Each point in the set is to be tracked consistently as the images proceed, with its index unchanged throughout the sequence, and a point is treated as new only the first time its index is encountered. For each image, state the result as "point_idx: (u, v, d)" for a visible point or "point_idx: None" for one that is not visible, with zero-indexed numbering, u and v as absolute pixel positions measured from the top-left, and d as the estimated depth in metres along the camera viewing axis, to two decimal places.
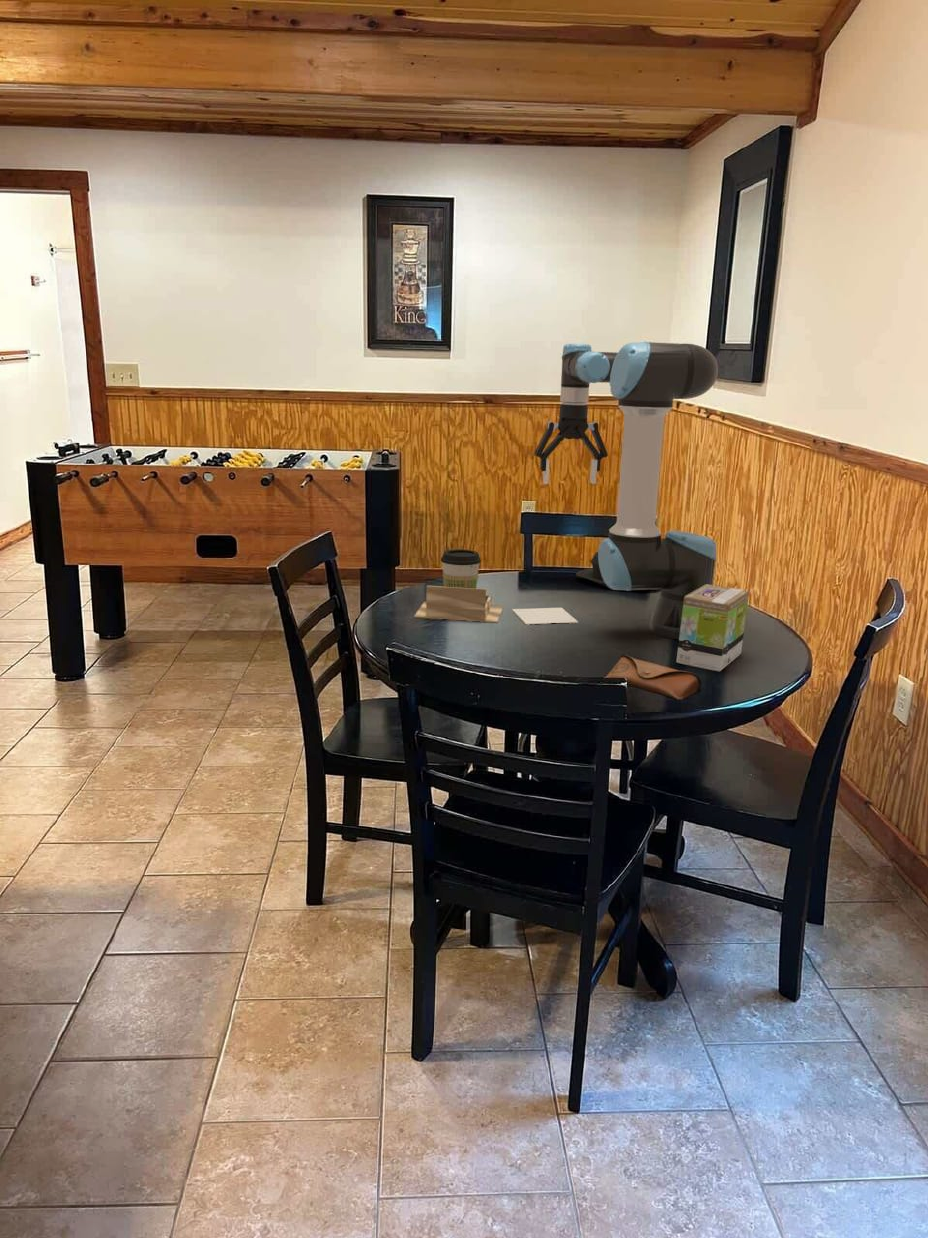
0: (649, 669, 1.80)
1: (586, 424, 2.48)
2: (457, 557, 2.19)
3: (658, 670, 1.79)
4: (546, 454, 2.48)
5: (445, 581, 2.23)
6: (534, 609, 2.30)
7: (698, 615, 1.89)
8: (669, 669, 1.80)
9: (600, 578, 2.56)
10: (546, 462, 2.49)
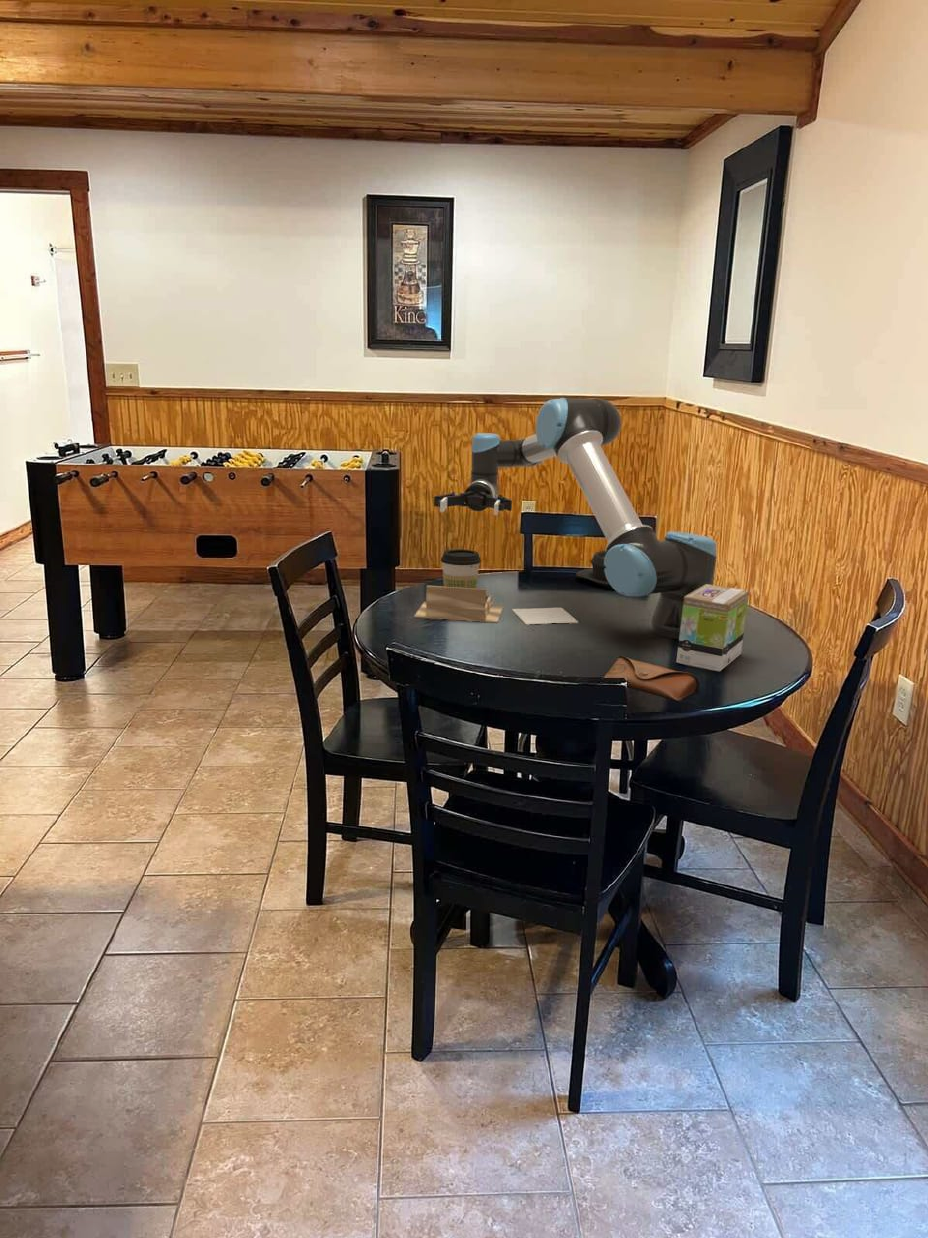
0: (647, 670, 1.80)
1: None
2: (457, 557, 2.19)
3: (656, 671, 1.79)
4: (444, 497, 2.38)
5: (445, 581, 2.23)
6: (534, 609, 2.30)
7: (698, 615, 1.89)
8: (667, 669, 1.79)
9: (600, 578, 2.56)
10: (443, 499, 2.36)
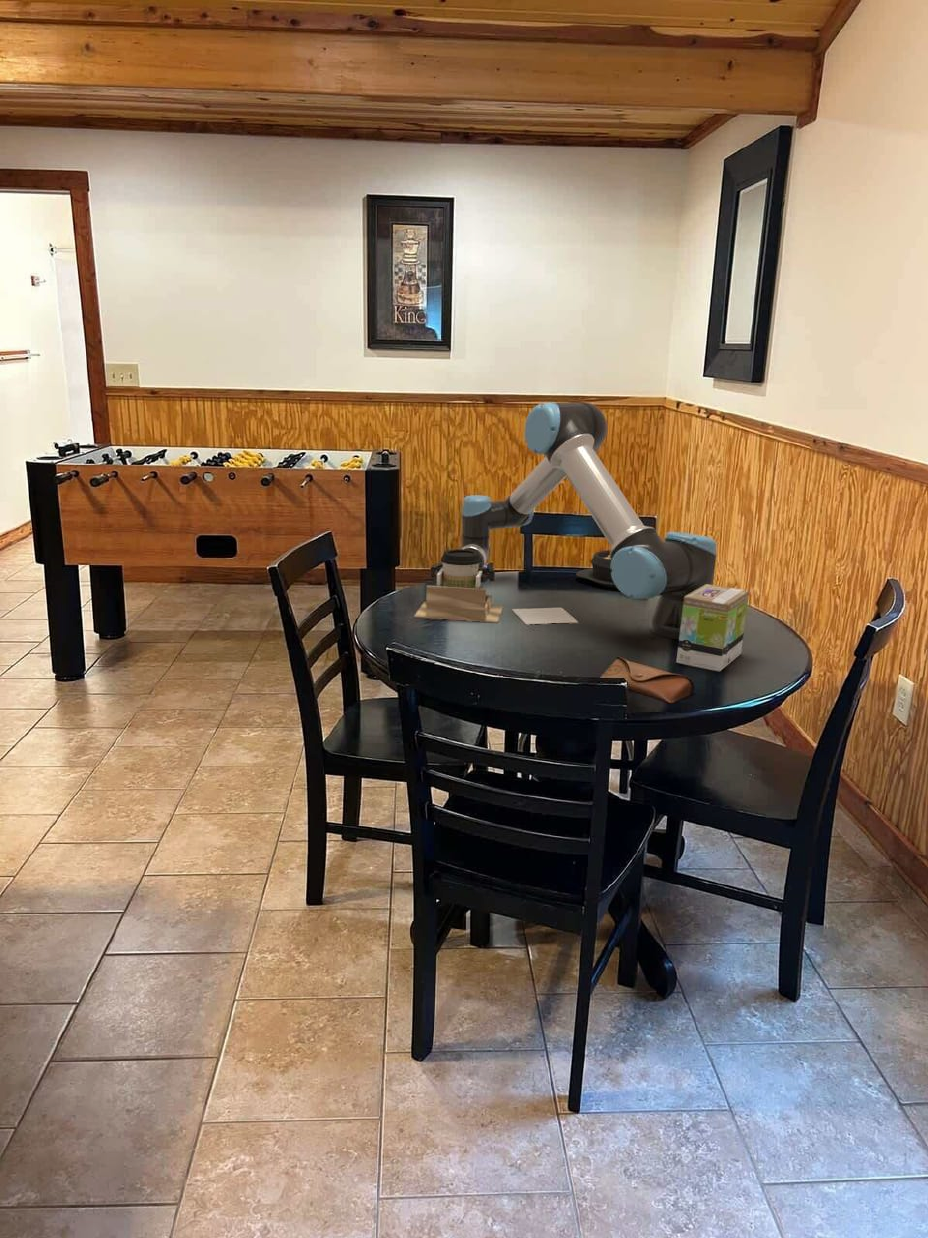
0: (642, 672, 1.79)
1: (481, 562, 2.36)
2: (457, 557, 2.19)
3: (651, 673, 1.78)
4: (440, 567, 2.28)
5: (445, 581, 2.23)
6: (534, 609, 2.30)
7: (698, 615, 1.89)
8: (662, 671, 1.78)
9: (600, 578, 2.56)
10: None
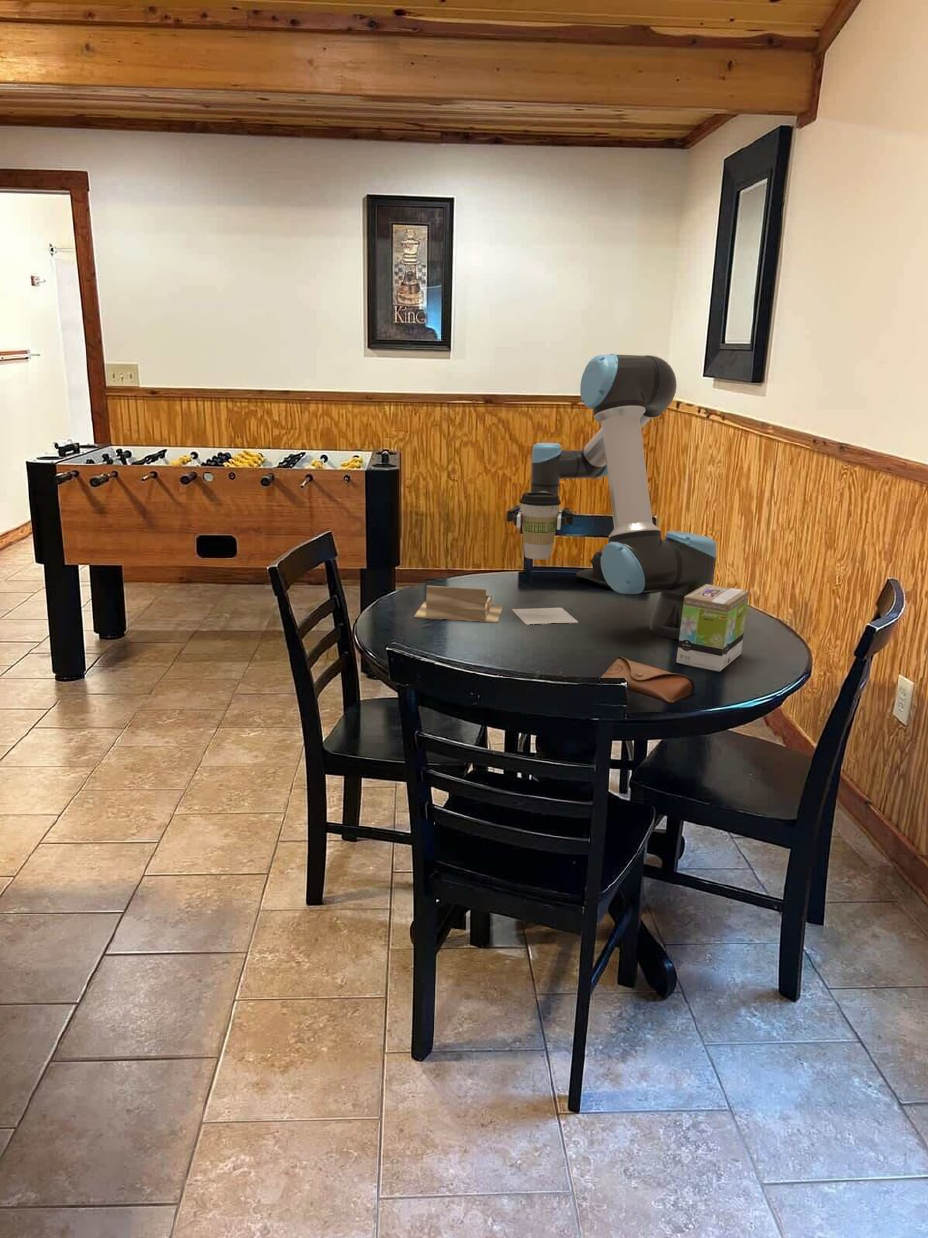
0: (642, 671, 1.79)
1: None
2: (538, 498, 2.14)
3: (651, 673, 1.78)
4: (517, 511, 2.23)
5: (524, 523, 2.18)
6: (534, 609, 2.30)
7: (698, 615, 1.89)
8: (663, 671, 1.78)
9: (600, 578, 2.56)
10: (518, 514, 2.21)
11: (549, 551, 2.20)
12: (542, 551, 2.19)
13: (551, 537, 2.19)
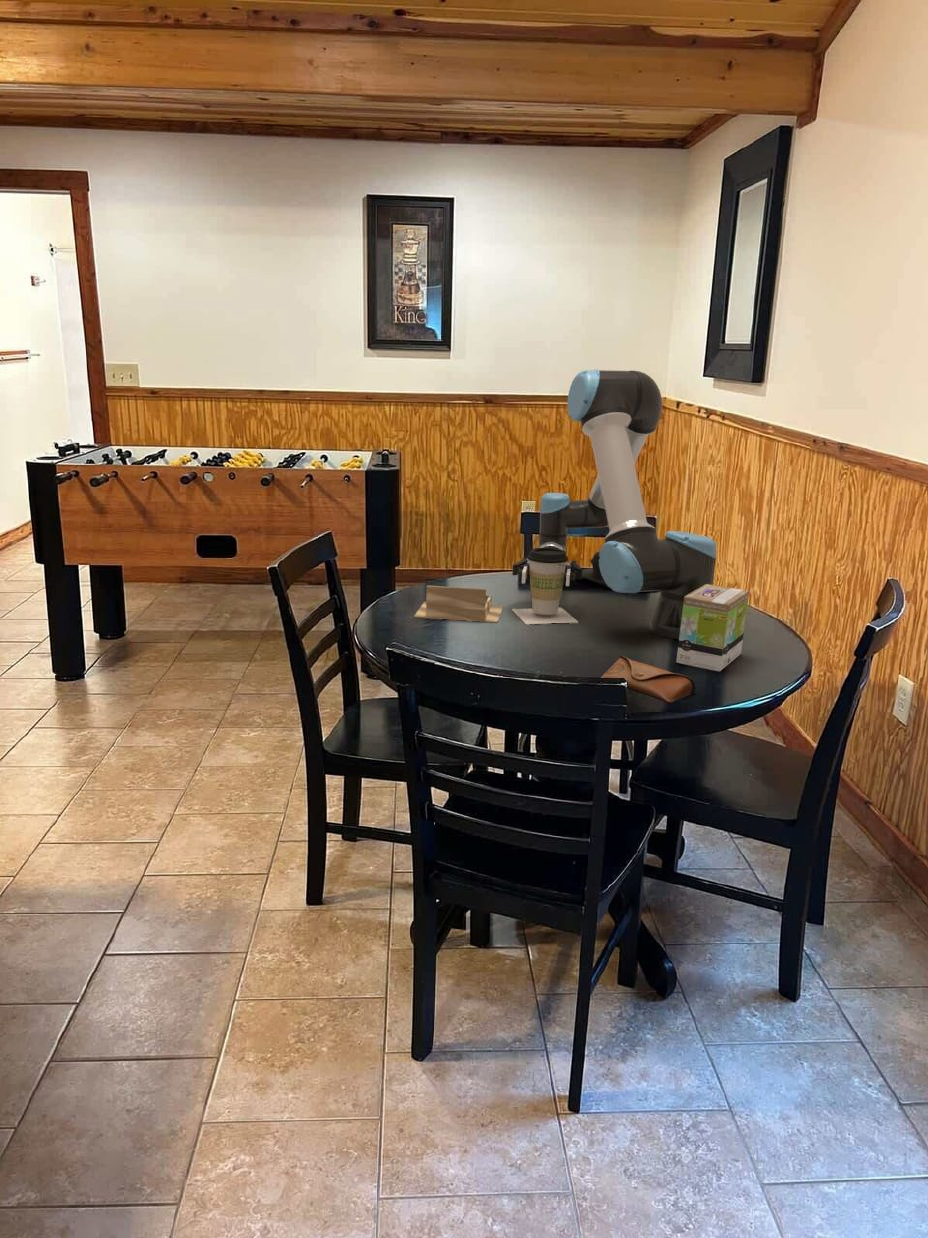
0: (643, 671, 1.79)
1: None
2: (546, 555, 2.18)
3: (652, 672, 1.78)
4: (523, 565, 2.27)
5: (532, 579, 2.22)
6: None
7: (698, 615, 1.89)
8: (663, 671, 1.78)
9: (600, 578, 2.56)
10: (523, 568, 2.25)
11: (556, 606, 2.24)
12: (549, 607, 2.22)
13: (558, 593, 2.22)
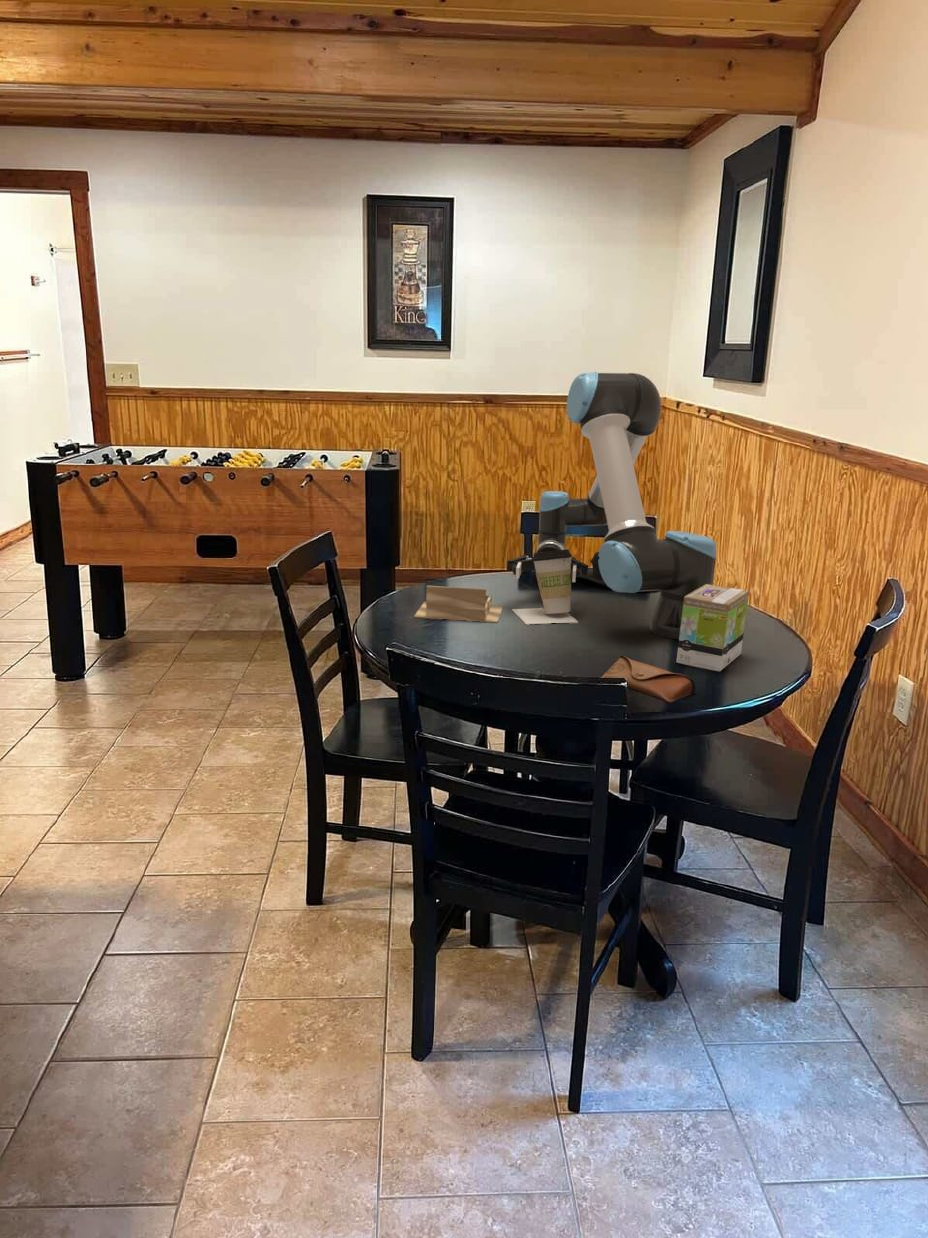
0: (643, 671, 1.79)
1: None
2: (549, 552, 2.21)
3: (652, 672, 1.78)
4: (518, 561, 2.30)
5: (540, 580, 2.24)
6: (534, 609, 2.30)
7: (698, 615, 1.89)
8: (664, 671, 1.78)
9: (600, 578, 2.56)
10: None
11: (568, 604, 2.24)
12: (561, 604, 2.23)
13: (568, 590, 2.23)
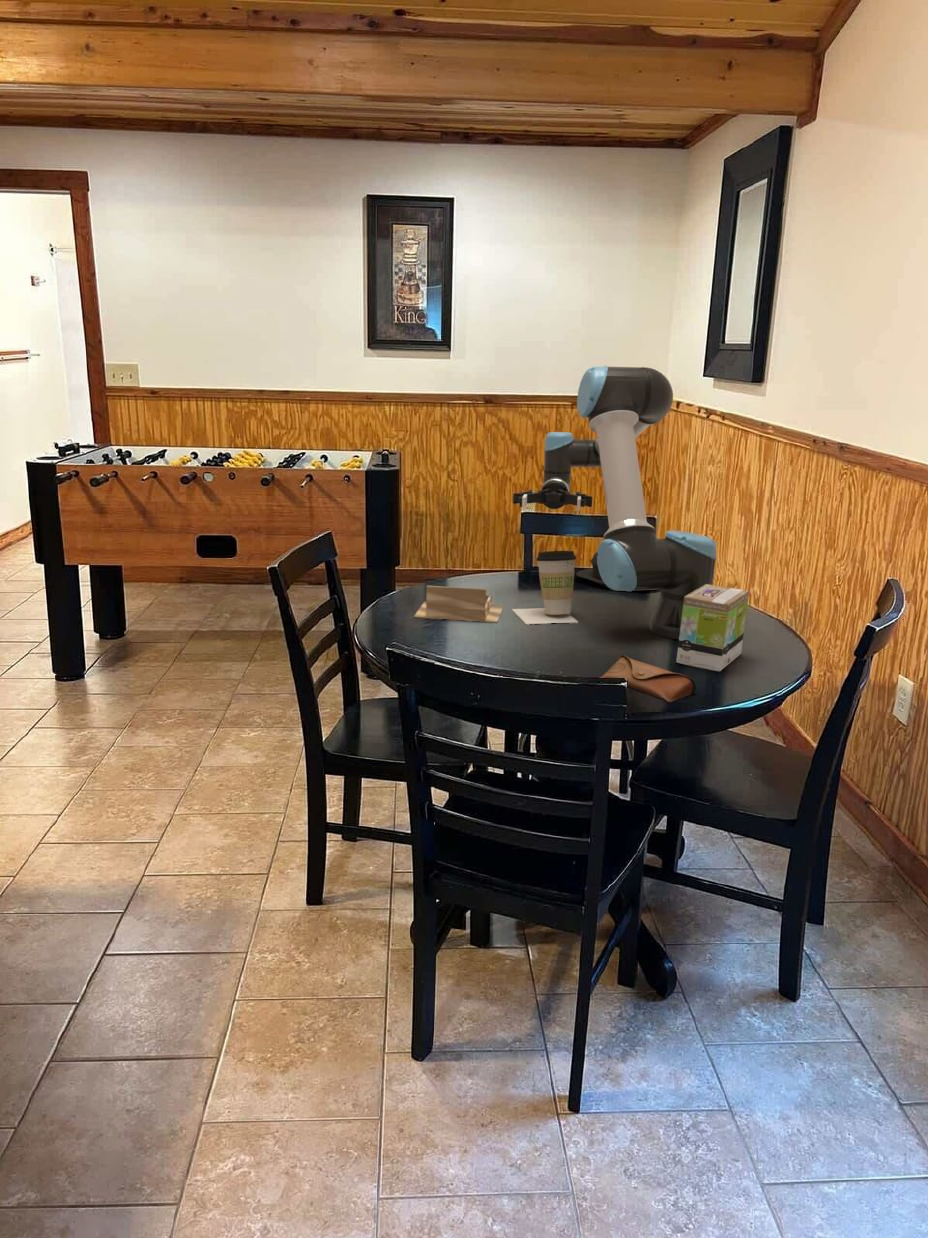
0: (644, 670, 1.80)
1: None
2: (553, 553, 2.20)
3: (652, 672, 1.78)
4: (524, 494, 2.37)
5: (542, 580, 2.23)
6: (534, 609, 2.30)
7: (698, 615, 1.89)
8: (664, 670, 1.78)
9: (600, 578, 2.56)
10: None
11: (568, 606, 2.24)
12: (561, 606, 2.23)
13: (569, 592, 2.23)
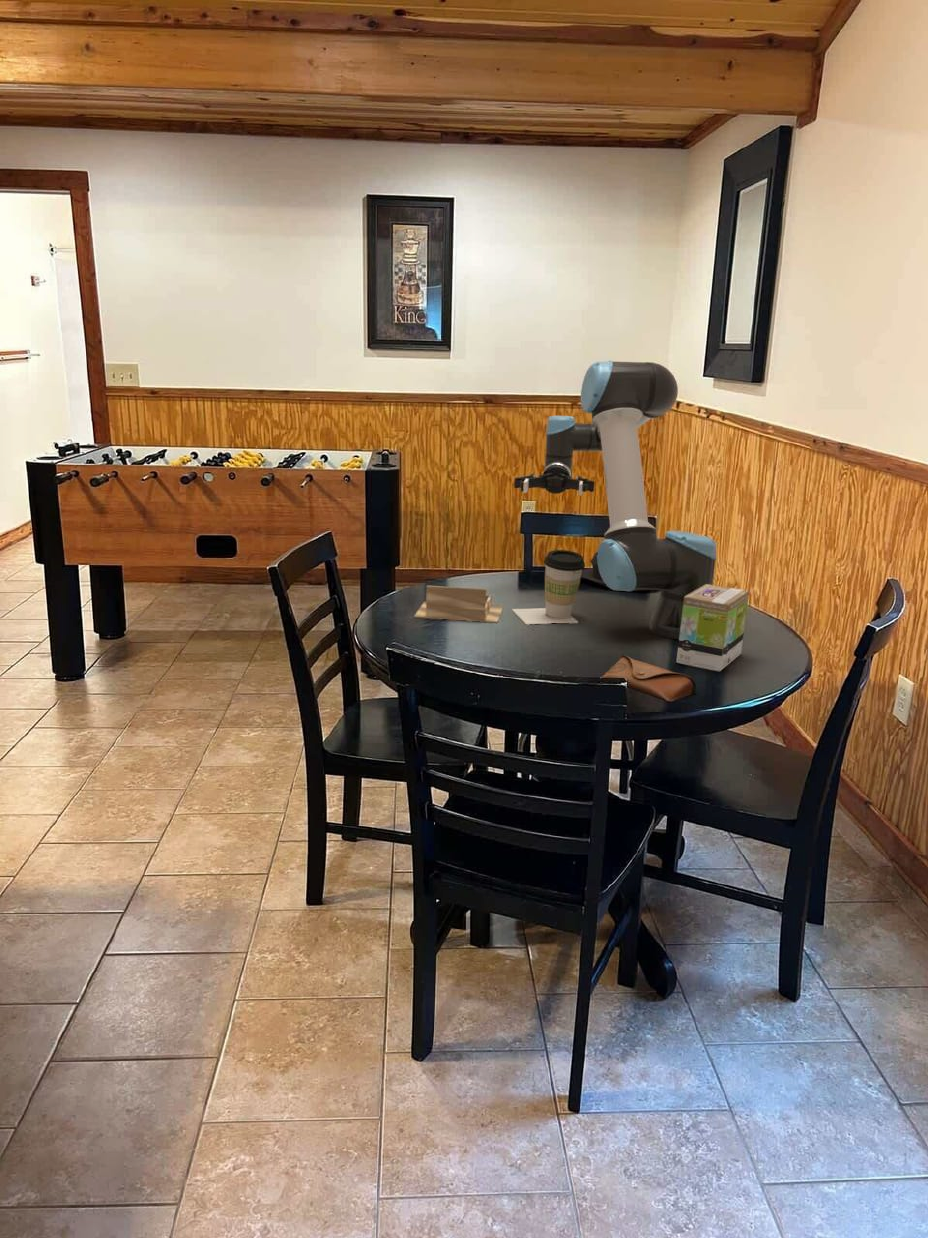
0: (644, 670, 1.80)
1: None
2: (561, 562, 2.16)
3: (652, 672, 1.79)
4: (525, 478, 2.35)
5: (546, 583, 2.21)
6: (534, 609, 2.30)
7: (698, 615, 1.89)
8: (664, 670, 1.78)
9: (600, 578, 2.56)
10: (525, 480, 2.33)
11: (569, 611, 2.23)
12: (561, 611, 2.22)
13: (571, 599, 2.21)
